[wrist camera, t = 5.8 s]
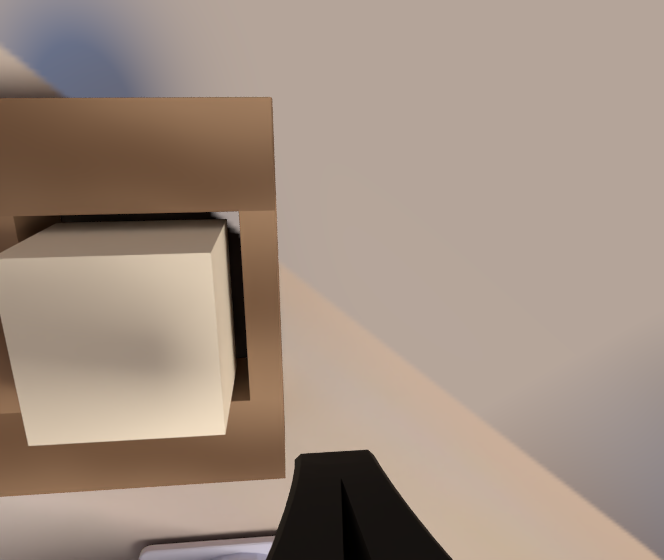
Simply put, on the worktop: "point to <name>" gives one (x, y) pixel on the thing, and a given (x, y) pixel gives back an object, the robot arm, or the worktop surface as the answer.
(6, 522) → the worktop surface
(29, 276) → the ivory cube
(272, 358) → the slotted board
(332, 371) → the worktop surface
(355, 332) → the worktop surface
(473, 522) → the worktop surface
